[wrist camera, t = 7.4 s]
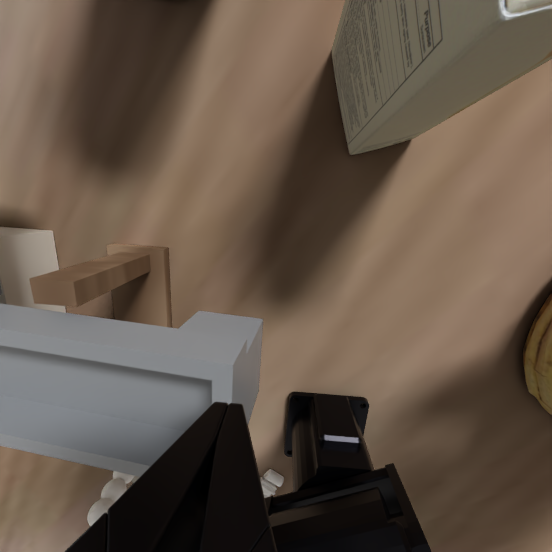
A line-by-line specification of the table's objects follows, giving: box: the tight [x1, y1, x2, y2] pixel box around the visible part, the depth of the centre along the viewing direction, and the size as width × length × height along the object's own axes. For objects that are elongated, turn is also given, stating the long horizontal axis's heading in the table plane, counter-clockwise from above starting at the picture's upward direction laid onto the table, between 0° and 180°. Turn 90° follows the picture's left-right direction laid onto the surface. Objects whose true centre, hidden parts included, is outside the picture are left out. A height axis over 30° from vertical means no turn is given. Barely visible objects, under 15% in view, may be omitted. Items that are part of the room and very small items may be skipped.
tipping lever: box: [0, 285, 263, 477], centre depth 13 cm, size 18×16×6 cm
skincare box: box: [332, 0, 552, 155], centre depth 10 cm, size 6×4×12 cm
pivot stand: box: [29, 244, 172, 328], centre depth 16 cm, size 4×11×8 cm, turn 176°
